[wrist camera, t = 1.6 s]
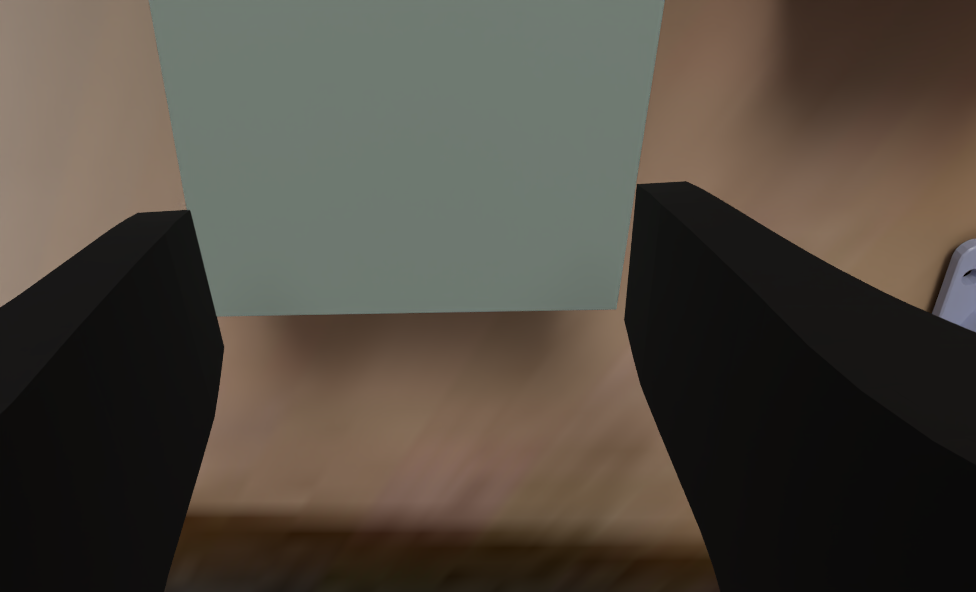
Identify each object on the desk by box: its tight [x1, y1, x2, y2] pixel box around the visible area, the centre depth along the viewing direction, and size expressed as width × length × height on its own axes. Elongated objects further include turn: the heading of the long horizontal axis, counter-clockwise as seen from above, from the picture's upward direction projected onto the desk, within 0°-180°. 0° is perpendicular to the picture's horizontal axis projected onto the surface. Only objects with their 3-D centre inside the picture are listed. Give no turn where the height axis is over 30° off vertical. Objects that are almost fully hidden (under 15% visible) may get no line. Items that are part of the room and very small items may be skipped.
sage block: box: [149, 0, 665, 316], centre depth 16 cm, size 8×8×5 cm
